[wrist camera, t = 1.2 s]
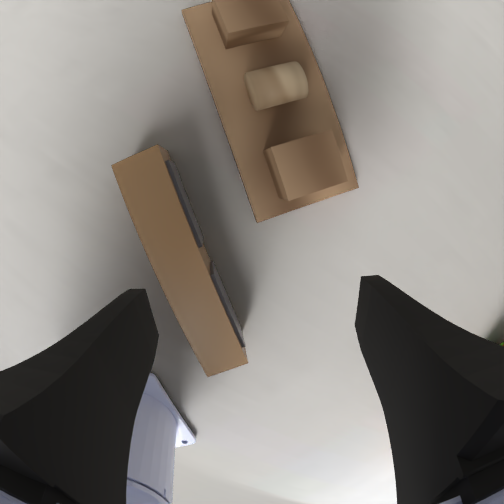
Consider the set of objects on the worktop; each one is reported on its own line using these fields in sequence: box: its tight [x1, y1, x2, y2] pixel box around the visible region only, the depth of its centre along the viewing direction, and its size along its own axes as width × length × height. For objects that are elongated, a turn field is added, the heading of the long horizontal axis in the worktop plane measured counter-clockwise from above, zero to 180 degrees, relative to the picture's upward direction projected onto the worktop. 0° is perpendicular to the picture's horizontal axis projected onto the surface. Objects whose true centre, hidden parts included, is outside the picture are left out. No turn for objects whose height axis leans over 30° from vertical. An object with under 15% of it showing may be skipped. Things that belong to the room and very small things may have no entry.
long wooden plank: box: [111, 145, 248, 377], centre depth 18 cm, size 3×13×4 cm, turn 20°
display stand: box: [182, 0, 359, 223], centre depth 17 cm, size 7×15×3 cm, turn 19°
